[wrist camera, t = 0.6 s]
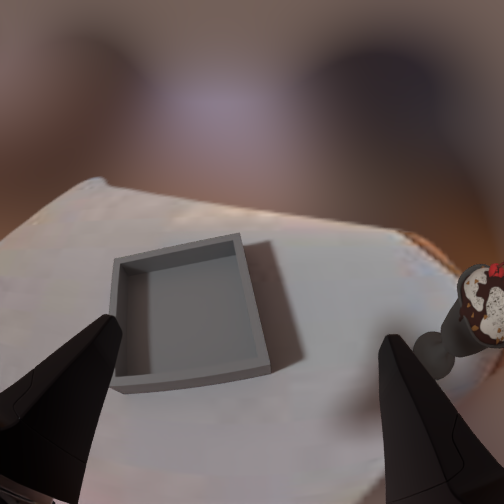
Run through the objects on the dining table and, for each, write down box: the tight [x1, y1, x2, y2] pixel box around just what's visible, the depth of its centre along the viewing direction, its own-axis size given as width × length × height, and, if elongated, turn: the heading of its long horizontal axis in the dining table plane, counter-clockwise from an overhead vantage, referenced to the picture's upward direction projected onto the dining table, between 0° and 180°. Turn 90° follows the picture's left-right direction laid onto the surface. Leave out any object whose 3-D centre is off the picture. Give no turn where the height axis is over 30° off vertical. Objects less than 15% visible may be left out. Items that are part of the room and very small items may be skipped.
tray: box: [109, 233, 271, 394], centre depth 26 cm, size 14×14×3 cm
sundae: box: [413, 262, 504, 380], centre depth 16 cm, size 7×7×15 cm
